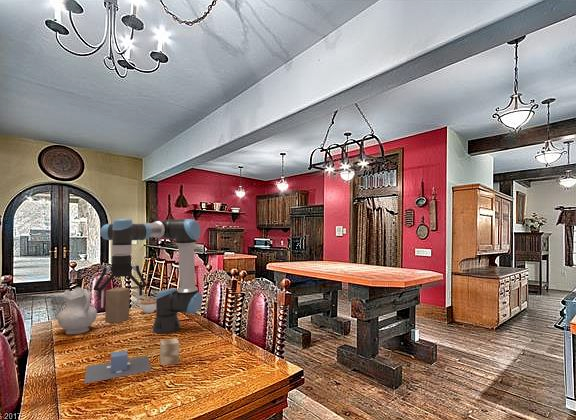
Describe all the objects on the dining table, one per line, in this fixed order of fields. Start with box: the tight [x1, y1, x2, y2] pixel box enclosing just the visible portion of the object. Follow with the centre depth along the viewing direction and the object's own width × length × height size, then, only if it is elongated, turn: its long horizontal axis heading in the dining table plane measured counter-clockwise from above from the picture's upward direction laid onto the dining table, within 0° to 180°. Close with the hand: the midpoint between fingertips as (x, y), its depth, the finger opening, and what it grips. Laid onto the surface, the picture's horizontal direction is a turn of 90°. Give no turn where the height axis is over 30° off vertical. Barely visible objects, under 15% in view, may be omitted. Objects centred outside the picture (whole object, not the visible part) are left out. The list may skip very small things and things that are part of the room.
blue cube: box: [110, 349, 128, 372], centre depth 140 cm, size 6×6×6 cm
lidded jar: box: [140, 298, 156, 314], centre depth 234 cm, size 11×11×9 cm
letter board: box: [83, 355, 153, 384], centre depth 140 cm, size 24×18×1 cm
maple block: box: [159, 337, 180, 366], centre depth 148 cm, size 7×7×9 cm
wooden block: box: [104, 287, 131, 324], centre depth 214 cm, size 10×10×20 cm
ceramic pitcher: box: [56, 286, 98, 335], centre depth 191 cm, size 22×20×25 cm
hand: (120, 305), depth 141 cm, fingers open, 13 cm apart
